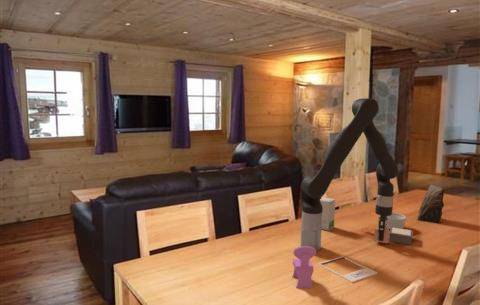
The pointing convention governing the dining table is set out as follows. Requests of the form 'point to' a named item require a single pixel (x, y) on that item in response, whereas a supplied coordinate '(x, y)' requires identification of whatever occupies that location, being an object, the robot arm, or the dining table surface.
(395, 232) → the block
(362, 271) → the photo frame
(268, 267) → the dining table surface
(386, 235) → the cube
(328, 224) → the skincare box
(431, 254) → the dining table surface
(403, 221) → the ramekin
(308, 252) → the purple figurine
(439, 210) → the dark rock
